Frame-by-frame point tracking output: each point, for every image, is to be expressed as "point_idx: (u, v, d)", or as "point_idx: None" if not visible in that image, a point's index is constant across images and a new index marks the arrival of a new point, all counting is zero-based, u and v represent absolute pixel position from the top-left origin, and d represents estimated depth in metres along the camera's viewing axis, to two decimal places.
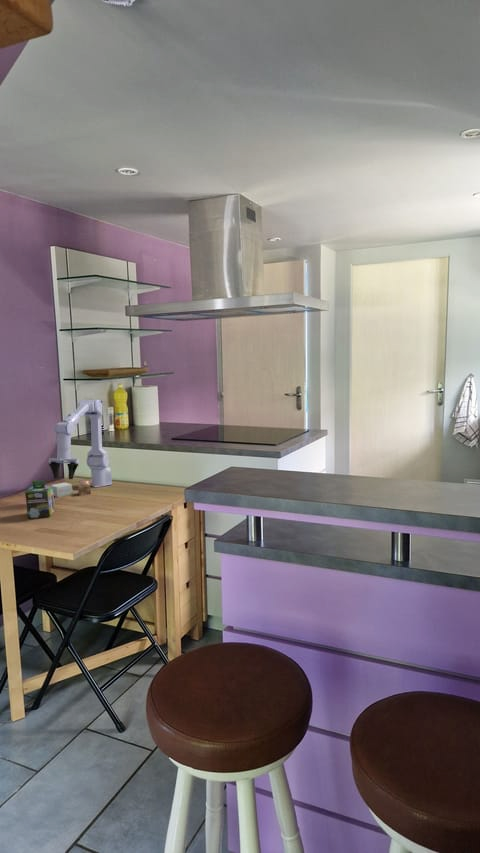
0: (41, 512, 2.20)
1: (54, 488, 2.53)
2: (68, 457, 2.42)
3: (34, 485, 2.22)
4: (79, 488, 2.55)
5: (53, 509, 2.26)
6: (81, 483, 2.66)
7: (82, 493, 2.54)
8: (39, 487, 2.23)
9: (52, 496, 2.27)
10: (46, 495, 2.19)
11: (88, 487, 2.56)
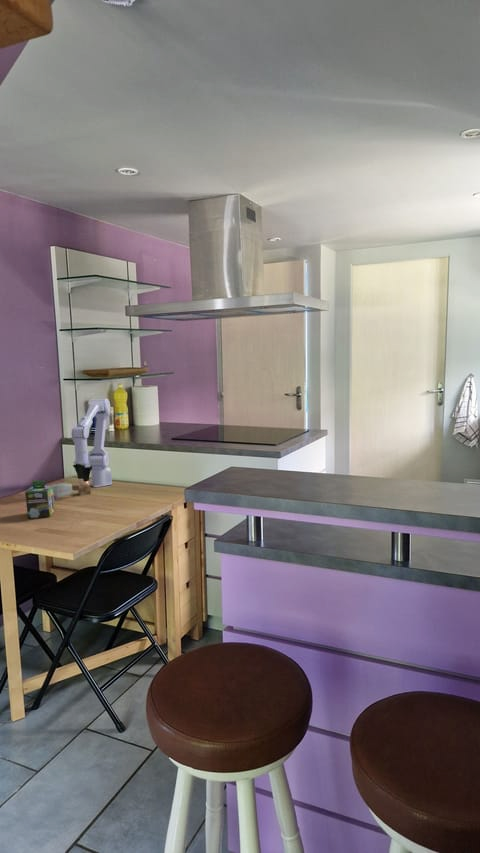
0: (41, 512, 2.20)
1: (54, 488, 2.53)
2: (82, 460, 2.53)
3: (34, 485, 2.22)
4: (79, 488, 2.55)
5: (53, 509, 2.26)
6: (81, 483, 2.66)
7: (82, 493, 2.54)
8: (39, 487, 2.23)
9: (52, 496, 2.27)
10: (46, 495, 2.19)
11: (88, 487, 2.56)
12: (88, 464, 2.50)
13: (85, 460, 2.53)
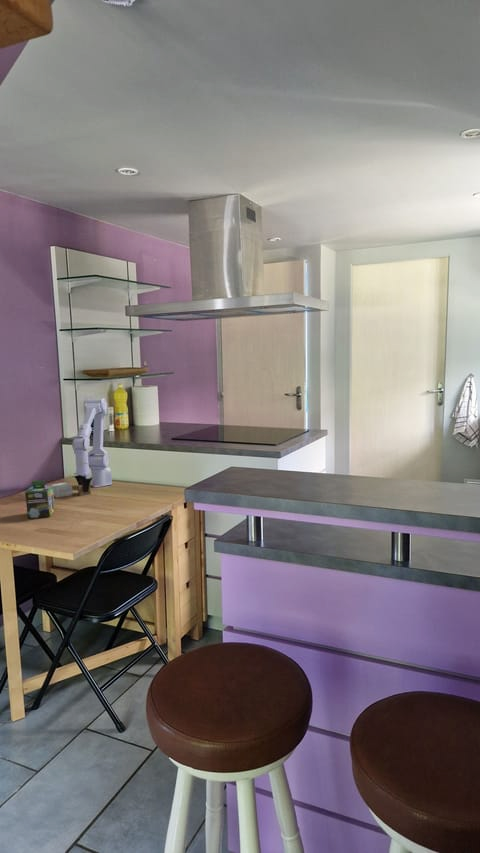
0: (41, 512, 2.20)
1: (54, 488, 2.53)
2: (83, 472, 2.53)
3: (34, 485, 2.22)
4: (79, 488, 2.55)
5: (53, 509, 2.26)
6: None
7: (82, 493, 2.54)
8: (39, 487, 2.23)
9: (52, 496, 2.27)
10: (46, 495, 2.19)
11: None
12: (89, 475, 2.50)
13: (86, 471, 2.54)
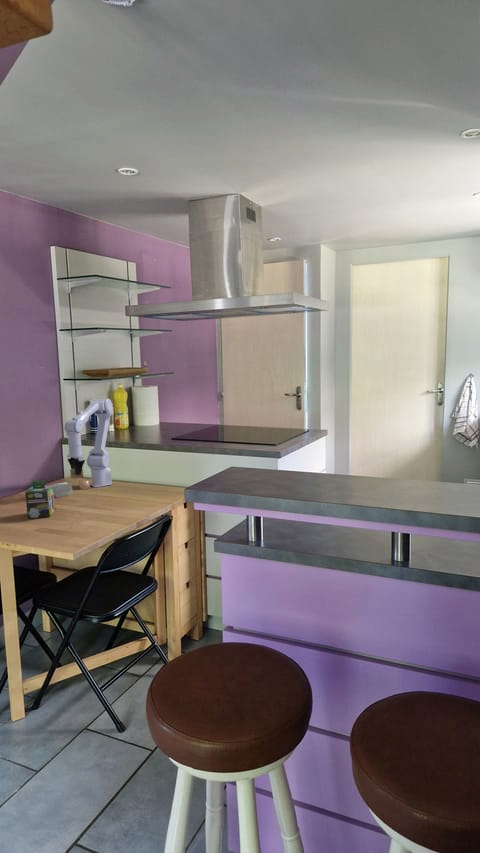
0: (41, 512, 2.20)
1: (54, 488, 2.53)
2: (76, 454, 2.52)
3: (34, 485, 2.22)
4: (72, 471, 2.54)
5: (53, 509, 2.26)
6: (81, 483, 2.66)
7: (75, 476, 2.53)
8: (39, 487, 2.23)
9: (52, 496, 2.27)
10: (46, 495, 2.19)
11: None
12: (82, 458, 2.49)
13: (79, 454, 2.53)
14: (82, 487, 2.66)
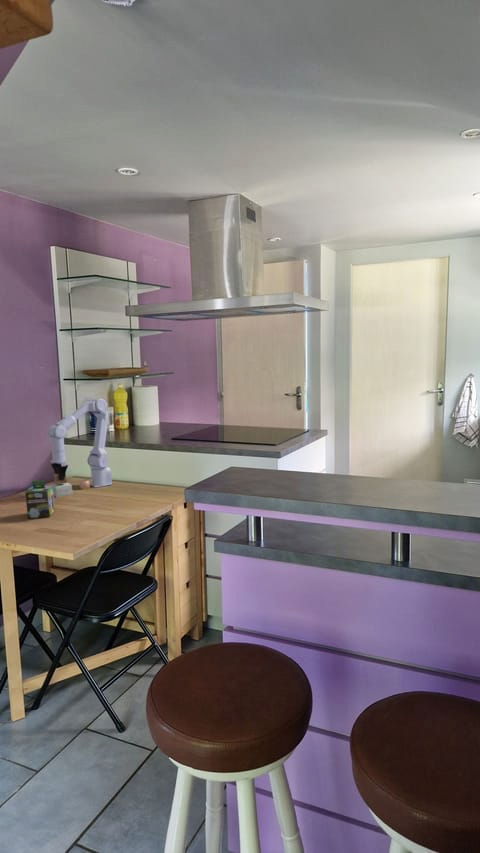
0: (41, 512, 2.20)
1: (54, 488, 2.53)
2: (59, 459, 2.52)
3: (34, 485, 2.22)
4: (55, 477, 2.54)
5: (53, 509, 2.26)
6: (81, 483, 2.66)
7: (58, 481, 2.53)
8: (39, 487, 2.23)
9: (52, 496, 2.27)
10: (46, 495, 2.19)
11: None
12: (64, 463, 2.49)
13: (62, 459, 2.53)
14: (82, 487, 2.66)
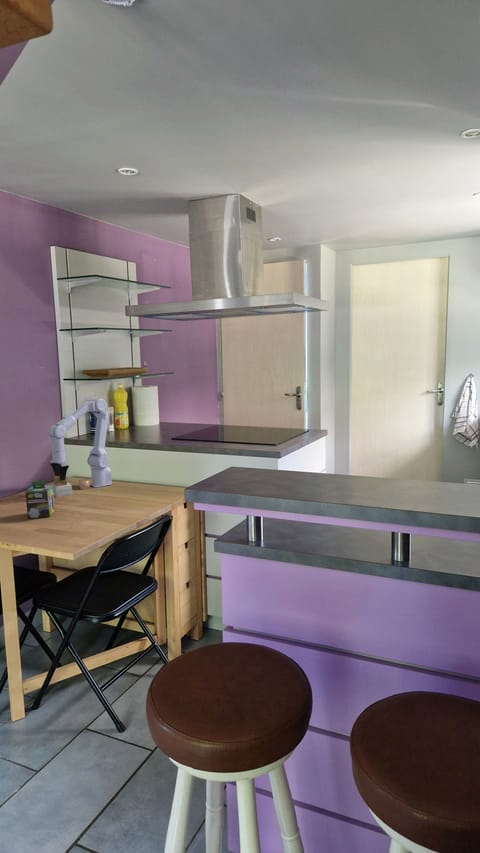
0: (41, 512, 2.20)
1: (54, 488, 2.53)
2: (59, 459, 2.52)
3: (34, 485, 2.22)
4: (55, 479, 2.55)
5: (53, 509, 2.26)
6: (81, 483, 2.66)
7: (58, 484, 2.54)
8: (39, 487, 2.23)
9: (52, 496, 2.27)
10: (46, 495, 2.19)
11: None
12: (64, 463, 2.49)
13: (62, 459, 2.53)
14: (82, 487, 2.66)
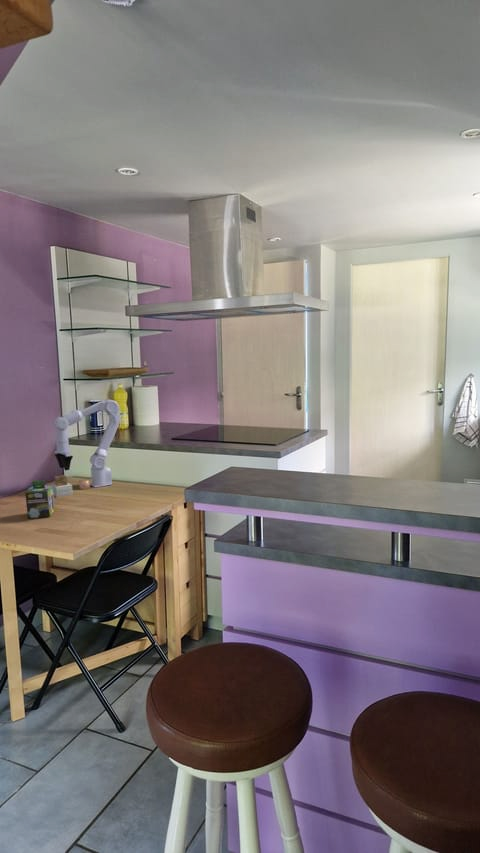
0: (41, 512, 2.20)
1: (54, 488, 2.54)
2: (63, 450, 2.62)
3: (34, 485, 2.22)
4: (56, 478, 2.55)
5: (53, 509, 2.26)
6: (80, 483, 2.66)
7: (59, 483, 2.54)
8: (39, 487, 2.23)
9: (52, 496, 2.27)
10: (46, 495, 2.19)
11: (65, 477, 2.55)
12: (68, 453, 2.59)
13: (66, 449, 2.63)
14: (81, 487, 2.66)
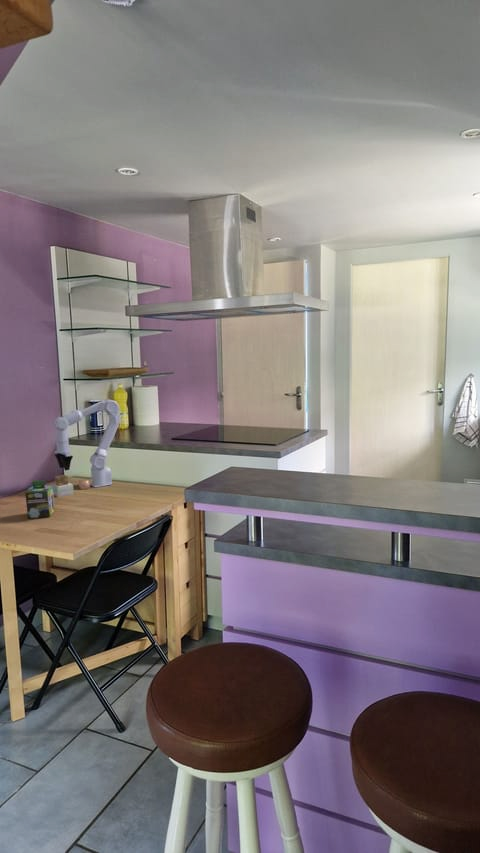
0: (41, 512, 2.20)
1: (55, 488, 2.54)
2: (63, 450, 2.62)
3: (34, 485, 2.22)
4: (56, 478, 2.55)
5: (53, 509, 2.26)
6: (80, 483, 2.66)
7: (60, 483, 2.54)
8: (39, 487, 2.23)
9: (52, 496, 2.27)
10: (46, 495, 2.19)
11: (66, 477, 2.56)
12: (68, 453, 2.59)
13: (66, 449, 2.63)
14: (81, 487, 2.66)
